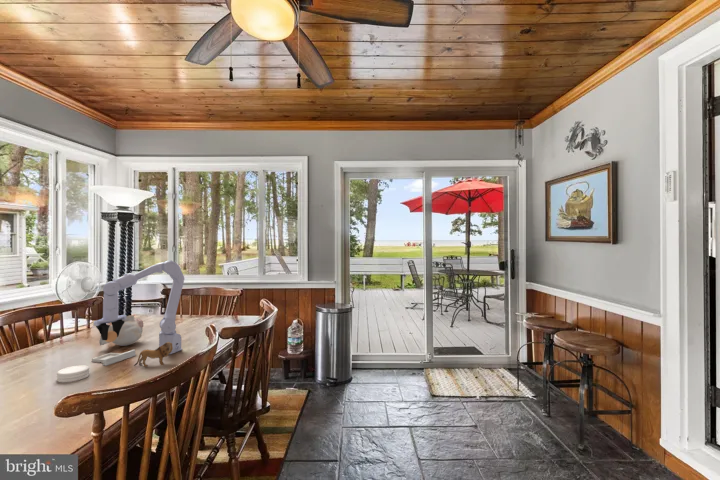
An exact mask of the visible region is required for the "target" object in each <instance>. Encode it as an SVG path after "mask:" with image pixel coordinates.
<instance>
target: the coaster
mask: <svg viewBox="0 0 720 480" xmlns="http://www.w3.org/2000/svg"><path fill="white" fill-rule="evenodd" d="M89 376H90V366H88V365H73V366H67V367H64V368H62V369H60V370H58V371H57V372H56V382H58V383H71V382H78V381H80V380H84V379H86V378H88V377H89Z"/></svg>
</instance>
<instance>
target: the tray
mask: <svg viewBox="0 0 720 480" xmlns="http://www.w3.org/2000/svg"><path fill="white" fill-rule="evenodd" d="M119 354H120V353H118V352H109V353H106V354H102V355H100V356H96V357H93V358H92V357H91V362H93V363H100V362H101V364H104V359H107V358H110V357H113V356H116V355H119Z"/></svg>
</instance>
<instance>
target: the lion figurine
mask: <svg viewBox="0 0 720 480" xmlns="http://www.w3.org/2000/svg"><path fill="white" fill-rule="evenodd" d="M172 349H173V347H172V343H170V342H166V343H165V344H163V345H162V346H160V347H159V346H158V347H157V348H156V349H143V350H141V352H140V353H139V356H138V358H137V361H136V362H135V363H134V364H133V367H136V366H137V365H140V366H142V365H143V366H144V367H148V366H149V365H148V364H146V361H147V358H150V359H159V364H160V366H163V365H164V364H165V363H164V361H163V360H164V358H166V357H168V356H169V355H170V354H169V353H171V352H172Z"/></svg>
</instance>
